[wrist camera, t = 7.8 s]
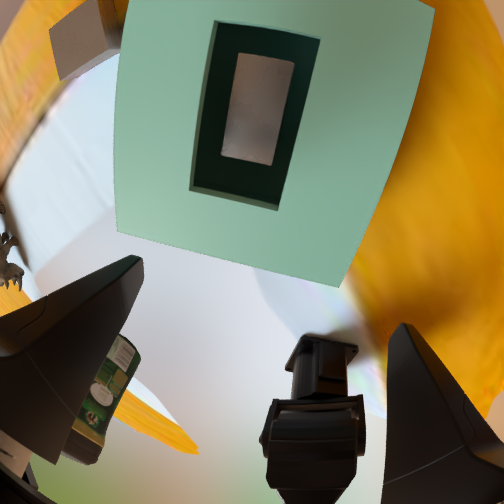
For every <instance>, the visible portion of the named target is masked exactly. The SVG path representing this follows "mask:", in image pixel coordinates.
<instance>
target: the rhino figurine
mask: <svg viewBox="0 0 504 504" xmlns="http://www.w3.org/2000/svg"><path fill="white" fill-rule="evenodd" d="M0 213H1V214H4V213H5V207H4V205H3V204H2V203H1V202H0ZM5 241H7V242H6V243H5V244H4V242H5ZM3 244H4V245H3ZM18 245H19V243H18V240H17V239H16V237H14V236H12V237H11V239H9V236H8V235H7V234H6V233H4V232H3V233H2V236H1V234H0V286H3V285H4V283H5V285H6V287H7V289H8V287H9V282H8V281H9V280H10V279H12V281H13V284H14V285H15V283H16V281H17V282H18V284H19V292H20V291H21V289H22V276H23V275H24V270H23V269H22V268H20V267H19V266H17V265H16V264H14V263H8V262H7V260H6V259H7V255H8V254H9V251H10V248H11V247H12V246H18Z"/></svg>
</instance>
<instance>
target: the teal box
mask: <svg viewBox="0 0 504 504" xmlns="http://www.w3.org/2000/svg"><path fill="white" fill-rule="evenodd" d="M434 14H435V9H434V8H432V7H430V6H429V5H427V4H425V3H423V2H421V1H419V0H129V4H128V9H127V14H126V19H125V24H124V30H123V36H122V42H121V49H120V56H119V64H118V73H117V84H116V96H115V112H114V147H113V158H114V194H115V210H116V223H117V231H118V232H120V233H124V234H128V235H132V236H135V237H139V238H143V239H147V240H150V241H154V242H158V243H162V244H166V245H169V246H173V247H177V248H181V249H185V250H189V251H193V252H196V253H200V254H204V255H208V256H212V257H216V258H220V259H224V260H228V261H232V262H236V263H240V264H244V265H248V266H252V267H256V268H260V269H264V270H268V271H272V272H276V273H280V274H284V275H288V276H292V277H296V278H300V279H304V280H308V281H313V282H317V283H321V284H325V285H329V286H333V287H338V288H339V286H340V285H341V283H342V281H343V279H344V277H345V274H346V272H347V270H348V268H349V266H350V264H351V262H352V260H353V258H354V256H355V254H356V252H357V249H358V247H359V245H360V243H361V241H362V238H363V236H364V234H365V232H366V230H367V227H368V225H369V223H370V220H371V218H372V216H373V213H374V211H375V209H376V206H377V204H378V201H379V199H380V196H381V194H382V191H383V189H384V186H385V184H386V181H387V179H388V176H389V174H390V171H391V168H392V166H393V163H394V160H395V157H396V155H397V152H398V149H399V146H400V143H401V140H402V137H403V134H404V131H405V128H406V125H407V122H408V119H409V116H410V113H411V109H412V106H413V103H414V99H415V96H416V92H417V89H418V85H419V81H420V78H421V74H422V70H423V66H424V62H425V58H426V53H427V49H428V44H429V40H430V35H431V30H432V25H433V19H434ZM239 53H245V54H252V55H259V56H265V57H270V58H276V59H281V60H286V61H290V62H295V65H296V70H295V75H294V79H293V83H292V88H291V92H290V97H289V101H288V106H287V110H286V114H285V119H284V123H283V128H282V132H281V136H280V141H279V144H278V147H277V150H276V153H275V156H274V159H273V162H272V165H271V166H270V165H265V164H261V163H256V162H252V161H247V160H243V159H238V158H233V157H228V156H223V155H221V154H222V147H223V141H224V134H225V128H226V122H227V116H228V110H229V104H230V98H231V92H232V87H233V81H234V76H235V71H236V65H237V60H238V55H239Z"/></svg>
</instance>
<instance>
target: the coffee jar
mask: <svg viewBox="0 0 504 504" xmlns="http://www.w3.org/2000/svg"><path fill="white" fill-rule="evenodd" d="M140 361H141V357H140V354H139V353H138V351H137V349H136V347H135V346H134V345H133V344H132V343H131V342H130V341H129V340H128V339H127V338H126V337H124V336H122V335H121V334H118V336H117V338H116V340H115V341H114V343H113V345H112V347H111V349H110V351H109V353H108V354H107V356H106V358H105V360H104V362H103V364H102V366H101V368H100V370H99V372H98V374H97V375H96V377H95V379H94V381H93V383H92V385H91V387H90V389H89V391H88V394H87V396H86V398H85V400H84V402H83V404H82V406H81V408H80V410H79V412H78V415H77V417H76V419H75V421H74V424H73V426H72V428H71V430H70V433H69V435H68V437H67V440H66V442H65V444H64V447H63V449H62V451H61V455H63V456H65V457H67V458H70V459H72V460H74V461H77V462H79V463H82V464H85V465H90V464H94V463H96V462H97V460H98V457H99V455H100V453H101V451H102V448H103V447H104V442H105V435H106V430H107V427H108V425H109V422H110V420H111V418H112V416H113V414H114V411H115V409H116V407H117V405H118V403H119V401H120V399H121V397H122V395H123V393H124V392H125V390H126V388H127V386H128V384H129V382H130V381H131V379H132V377H133V375H134V373H135V371H136V369H137V367H138V365H139V363H140Z"/></svg>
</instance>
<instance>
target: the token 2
mask: <svg viewBox="0 0 504 504" xmlns="http://www.w3.org/2000/svg"><path fill="white" fill-rule="evenodd" d="M295 70H296V65H295V62H290V61H286V60H281V59H276V58H270V57H265V56H259V55H252V54H245V53H239V55H238V60H237V65H236V71H235V76H234V81H233V87H232V92H231V98H230V104H229V110H228V116H227V122H226V128H225V134H224V141H223V147H222V154H221V155H223V156H228V157H233V158H238V159H243V160H247V161H252V162H256V163H261V164H265V165H270V166H271V165H272V162H273V159H274V156H275V153H276V150H277V147H278V144H279V141H280V136H281V132H282V128H283V123H284V119H285V114H286V110H287V106H288V101H289V97H290V92H291V88H292V83H293V79H294V75H295Z"/></svg>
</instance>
